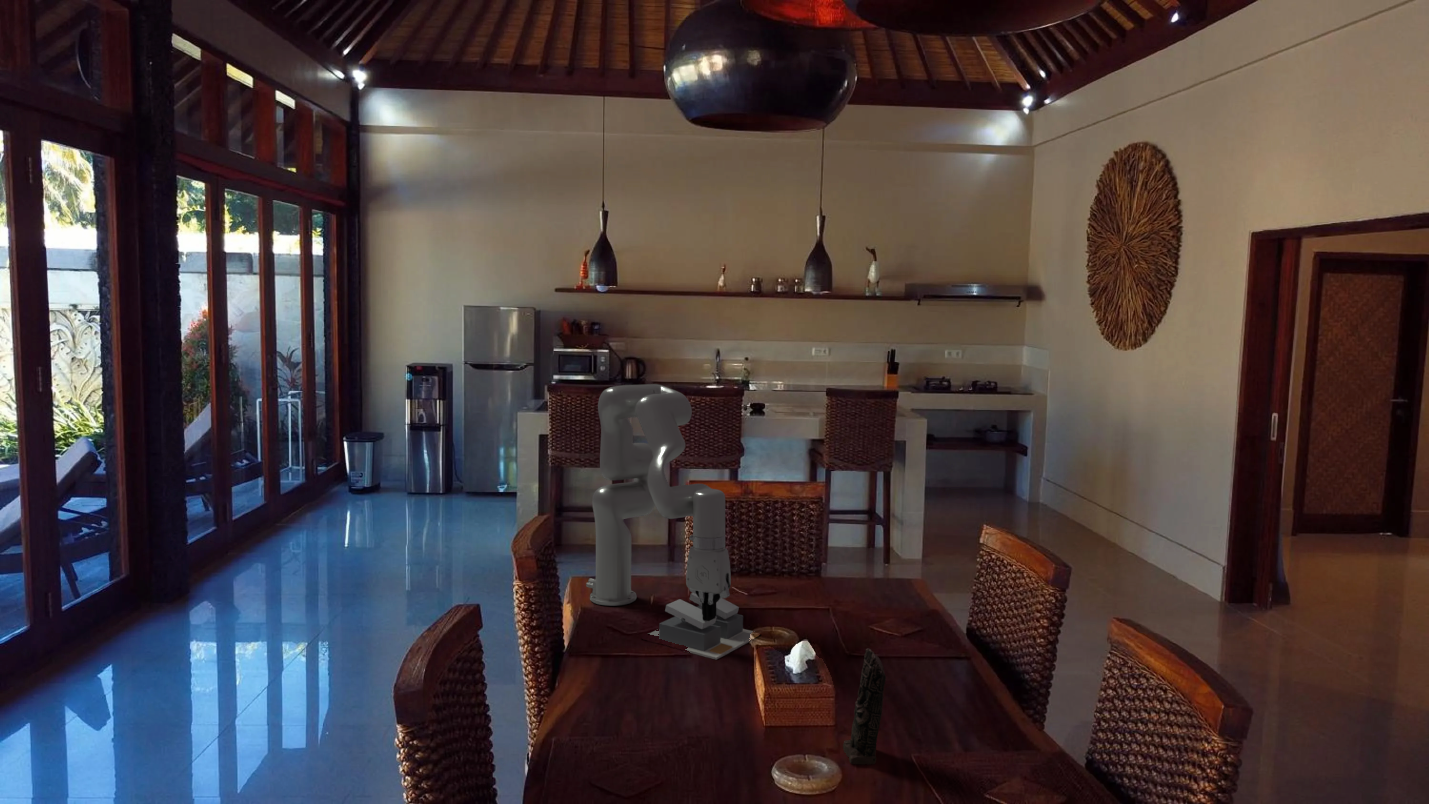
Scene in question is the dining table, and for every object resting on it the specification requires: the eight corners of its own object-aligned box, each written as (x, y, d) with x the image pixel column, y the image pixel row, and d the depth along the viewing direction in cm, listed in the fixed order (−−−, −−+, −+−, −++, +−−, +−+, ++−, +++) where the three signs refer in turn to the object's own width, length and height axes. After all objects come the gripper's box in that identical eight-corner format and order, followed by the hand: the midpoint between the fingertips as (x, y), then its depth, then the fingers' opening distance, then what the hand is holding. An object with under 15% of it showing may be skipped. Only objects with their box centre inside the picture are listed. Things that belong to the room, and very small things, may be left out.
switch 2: (688, 601, 245) (690, 593, 244) (701, 595, 249) (703, 588, 249) (724, 621, 239) (726, 613, 239) (736, 615, 244) (739, 607, 243)
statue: (841, 747, 184) (845, 644, 182) (879, 746, 185) (883, 643, 182) (849, 765, 177) (853, 657, 175) (888, 764, 178) (893, 657, 176)
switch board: (640, 639, 239) (640, 621, 238) (688, 617, 255) (688, 600, 255) (716, 659, 226) (716, 640, 226) (761, 635, 243) (761, 617, 243)
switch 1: (664, 613, 237) (666, 604, 236) (678, 607, 241) (679, 599, 241) (701, 631, 231) (703, 623, 230) (714, 625, 236) (716, 616, 235)
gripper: (673, 541, 232) (674, 617, 234) (727, 549, 224) (727, 628, 225) (692, 535, 238) (692, 609, 240) (744, 543, 230) (744, 620, 232)
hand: (709, 618), depth 233 cm, fingers closed
